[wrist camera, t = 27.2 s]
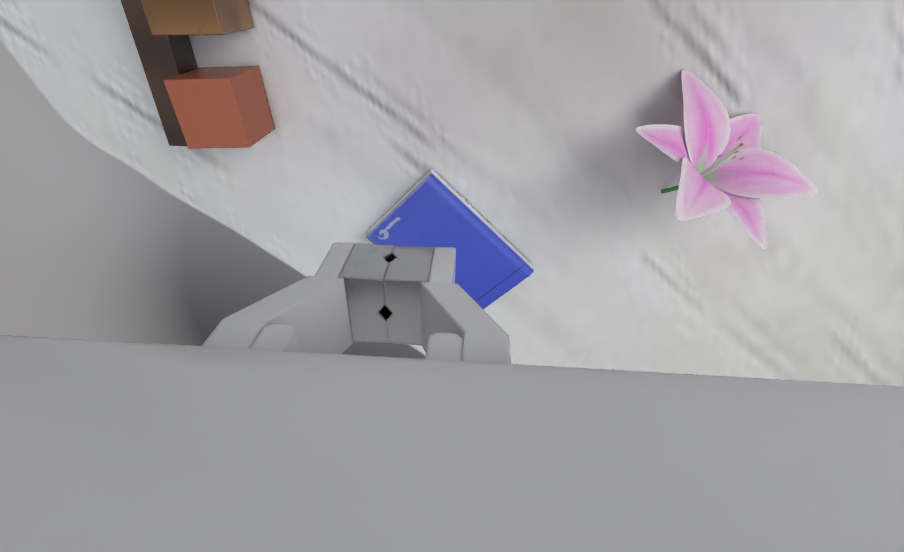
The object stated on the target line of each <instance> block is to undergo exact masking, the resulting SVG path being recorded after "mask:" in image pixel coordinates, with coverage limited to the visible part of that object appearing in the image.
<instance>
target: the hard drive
mask: <svg viewBox="0 0 904 552" xmlns="http://www.w3.org/2000/svg"><path fill="white" fill-rule="evenodd" d="M366 238H368V239H369V240H370V241H371V242H372V243H373V244H375V245H390V246H412V247H434V248H435V247H455V249H456V267H455V284H458V285H459V286H460V287H461V288H462V289H463V290H464V291H465V292H466V293H467V294H468V295H469V296H470V297H471V298H472V299H473V300H474V301H475V302H476V303H477V304H478V305H479V306H480V307H481V308H482V309H484V308H486V307H487V306H488V305H490V304H491V303H492V302H494V301H495V300H497V299H498V298H499V297H501V296H502V295H504V294H505V293H506V292H508V291H509V290H510V289H512V288H513V287H515V286H516V285H517V284H519V283H520V282H521V281H523V280H524V279H526V278H527V277H528V276H530V275H531V274H532V273H533V266H532V264H531V263H530V262H529V261H528V260H527V259H526V258H525V257H524V256H523V255H522V254H521V253H520V252H518V251H517V250H516V249H515V248H514V247H513V246H512V245H511V244H510V243H509V242H508V241H507V240H506V239H505V238H504V237H503V236H502V235H501V234H500V233H499V232H498V231H496V230H495V229H494V228H493V227H492V226H491V225H490V224H489V223H488V222H487V221H486V220H485V219H484V218H483V217H482V216H481V215H480V214H479V213H478V212H477V211H476V210H475V209H474V208H472V207H471V206H470V205H469V204H468V203H467V202H466V201H465V200H464V199H463V198H462V197H461V196H460V195H459V194H458V193H457V192H456V191H455V190H454V189H452V188H451V187H450V186H449V185H448V184H447V183H446V182H445V181H444V180H443V179H442V178H441V177H440V176H439V175H438V174H437V173H436V172H435V171H434V170H433V169H431V170H430V171H429V172H428V173H426V174H425V175H424V176H423V177H422V178H421V179H420V180H419V181H418V182H417V183H416V184H415V185H414V186H413V187H412V188H411V189H410V190H409V191H408V192H407V193H406V194H405V195H404V196H403V197H402V198H401V199H400V200H399V201H398V202H397V203H396V204H395V205H394V206H393V207H392V208H391V209H390V210H389V211H387V212H386V213H385V214H384V215H383V216H382V217H381V218H380V219H379V220H378V221H377V222H376V223H375V224H374V225H373V226H372V227H371V228H370V229H369V231H368V233H367V235H366Z"/></svg>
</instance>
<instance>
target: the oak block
mask: <svg viewBox="0 0 904 552" xmlns="http://www.w3.org/2000/svg"><path fill="white" fill-rule="evenodd" d="M141 3H142V6H143V9H144V12H145V15H146V18H147V20H148V23H149V26H150V29H151V32H152V34H153V35H223V34H228V33H232V32H236V31H241V30H245V29H249V28H253V22H252V17H251V13H250V9H249V4H248V0H141Z"/></svg>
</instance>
